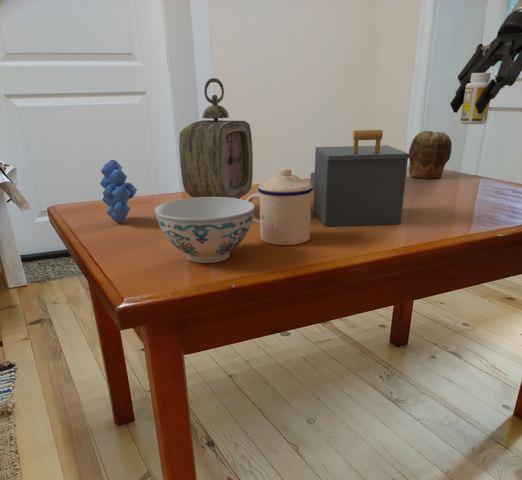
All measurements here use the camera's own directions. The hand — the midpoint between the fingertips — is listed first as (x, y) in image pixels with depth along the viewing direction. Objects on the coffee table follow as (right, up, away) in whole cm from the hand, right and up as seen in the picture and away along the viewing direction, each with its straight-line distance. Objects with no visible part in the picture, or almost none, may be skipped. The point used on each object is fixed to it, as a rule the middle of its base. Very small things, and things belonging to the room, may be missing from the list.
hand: (465, 108), depth 113 cm
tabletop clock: (-54, -25, -7) cm, 60 cm away
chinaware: (-54, -39, -32) cm, 74 cm away
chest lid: (-27, -17, -17) cm, 36 cm away
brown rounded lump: (+1, -6, +29) cm, 30 cm away
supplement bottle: (+3, -2, +4) cm, 5 cm away
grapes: (-73, -29, -12) cm, 79 cm away
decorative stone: (-27, -16, +11) cm, 33 cm away
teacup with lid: (-43, -34, -23) cm, 59 cm away
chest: (-27, -27, -11) cm, 39 cm away
